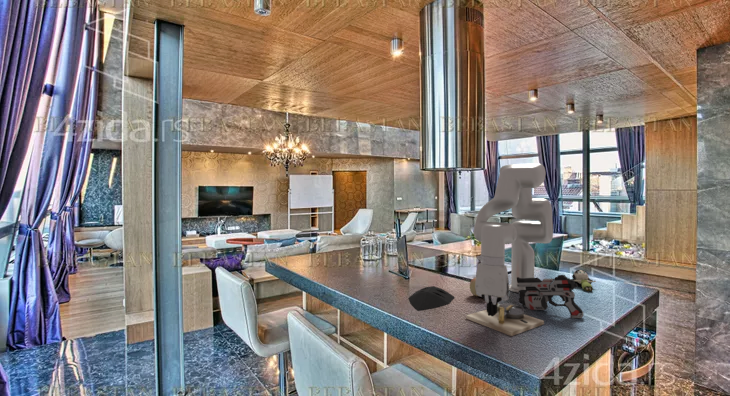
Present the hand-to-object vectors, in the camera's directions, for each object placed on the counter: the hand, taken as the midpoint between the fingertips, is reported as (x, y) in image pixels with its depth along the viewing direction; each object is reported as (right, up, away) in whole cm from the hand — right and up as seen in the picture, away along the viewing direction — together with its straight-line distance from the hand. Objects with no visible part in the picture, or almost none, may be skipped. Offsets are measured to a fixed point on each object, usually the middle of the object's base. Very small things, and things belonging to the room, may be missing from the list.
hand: (491, 314), depth 120 cm
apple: (+6, -3, +31) cm, 32 cm away
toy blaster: (+26, -4, +13) cm, 29 cm away
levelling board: (+6, -3, +3) cm, 7 cm away
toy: (+59, -3, +45) cm, 74 cm away
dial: (+7, -2, +3) cm, 8 cm away
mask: (-16, -4, +27) cm, 32 cm away
